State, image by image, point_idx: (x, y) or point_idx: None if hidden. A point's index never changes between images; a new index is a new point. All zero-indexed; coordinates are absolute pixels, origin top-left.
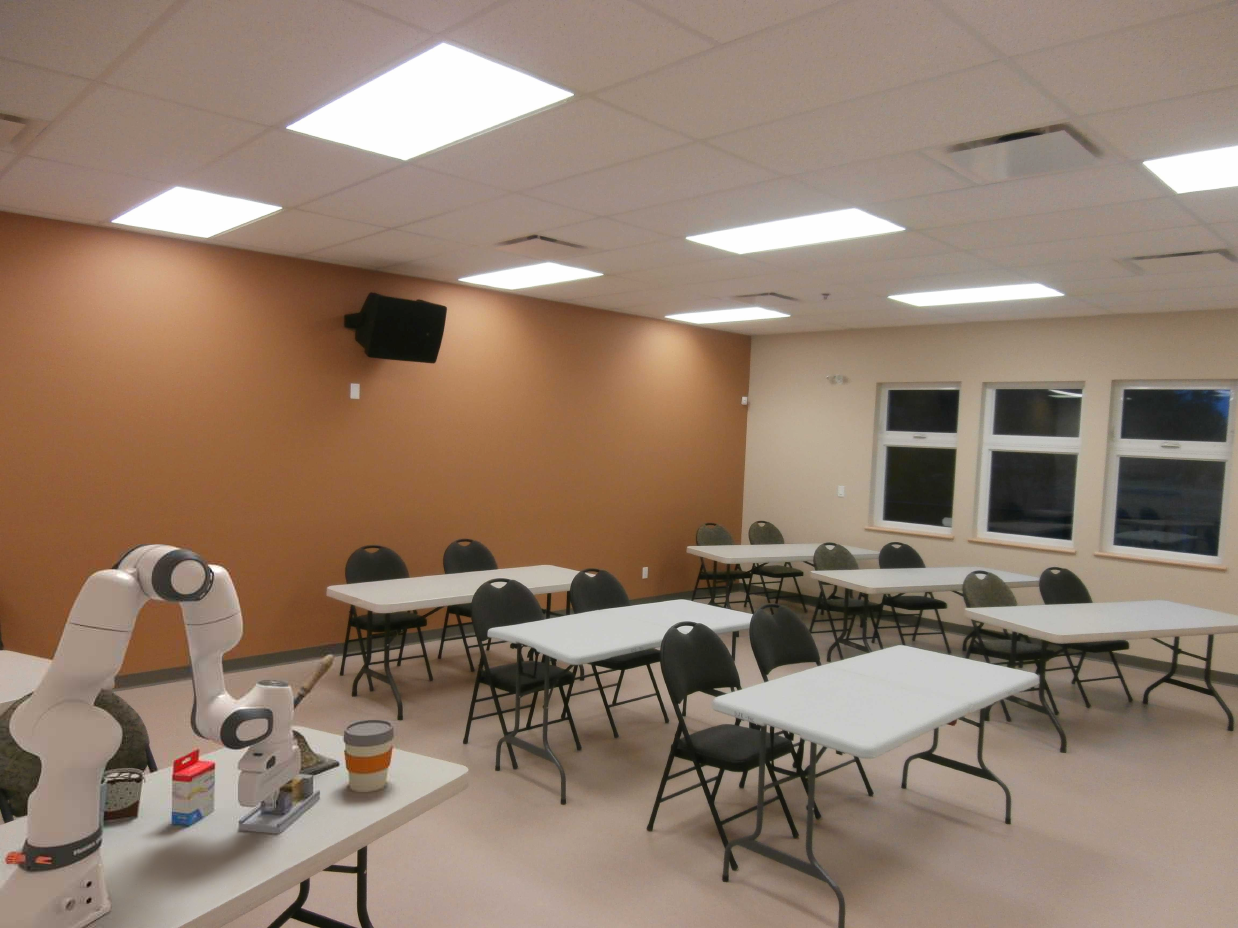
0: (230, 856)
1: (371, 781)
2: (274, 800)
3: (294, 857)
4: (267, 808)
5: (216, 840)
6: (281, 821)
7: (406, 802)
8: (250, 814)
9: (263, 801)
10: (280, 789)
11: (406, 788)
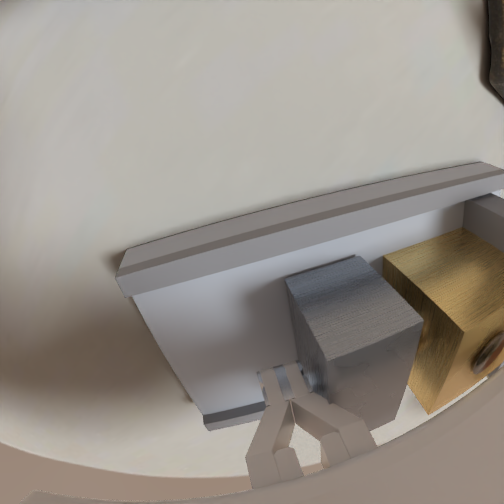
0: (17, 372)
1: (487, 377)
2: (301, 425)
3: (139, 466)
4: (260, 386)
5: (12, 243)
6: (231, 420)
7: None
8: (220, 269)
9: (312, 343)
10: (433, 355)
11: (471, 389)
